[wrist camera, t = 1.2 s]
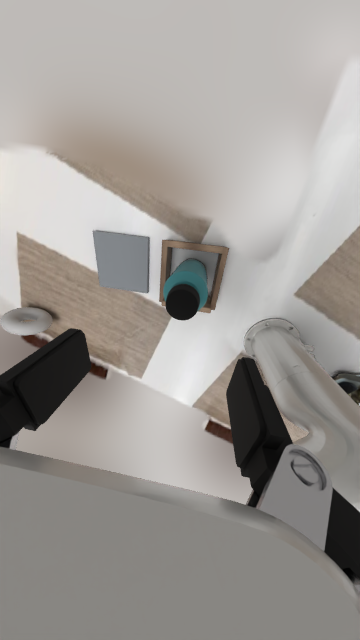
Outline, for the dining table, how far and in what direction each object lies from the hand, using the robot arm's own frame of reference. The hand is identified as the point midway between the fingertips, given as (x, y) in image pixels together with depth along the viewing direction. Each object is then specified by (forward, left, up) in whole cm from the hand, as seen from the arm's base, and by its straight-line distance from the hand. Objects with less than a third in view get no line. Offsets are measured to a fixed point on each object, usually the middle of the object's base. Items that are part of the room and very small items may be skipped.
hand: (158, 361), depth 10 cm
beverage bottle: (0, 0, -30) cm, 30 cm away
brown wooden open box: (0, 0, -29) cm, 29 cm away
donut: (+41, +17, -30) cm, 53 cm away
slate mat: (+16, 0, -29) cm, 33 cm away
